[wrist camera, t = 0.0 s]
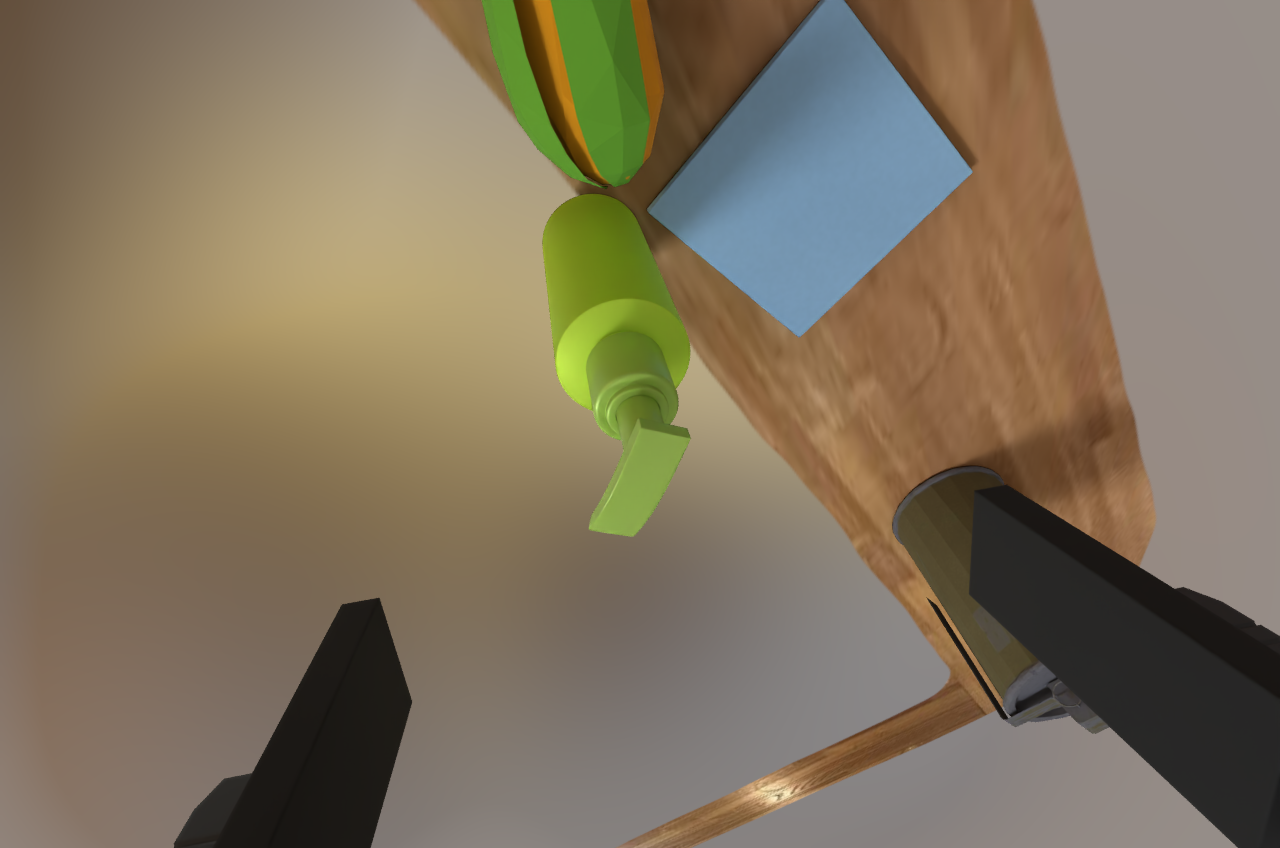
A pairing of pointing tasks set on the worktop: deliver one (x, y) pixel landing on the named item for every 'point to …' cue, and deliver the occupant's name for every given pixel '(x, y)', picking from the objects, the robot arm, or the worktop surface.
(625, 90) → the corn
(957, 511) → the canister
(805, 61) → the blue mat
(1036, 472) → the worktop surface
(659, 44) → the worktop surface
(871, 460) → the worktop surface
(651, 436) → the soap dispenser
